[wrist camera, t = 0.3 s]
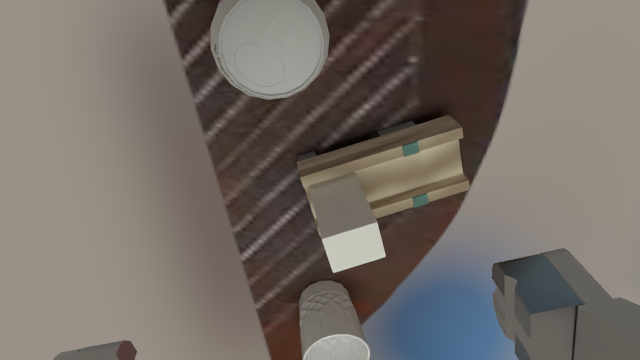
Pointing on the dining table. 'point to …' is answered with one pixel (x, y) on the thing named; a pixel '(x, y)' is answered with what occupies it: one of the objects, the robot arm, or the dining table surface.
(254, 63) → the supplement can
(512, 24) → the dining table surface
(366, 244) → the rider
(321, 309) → the white cup
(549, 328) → the robot arm
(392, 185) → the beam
